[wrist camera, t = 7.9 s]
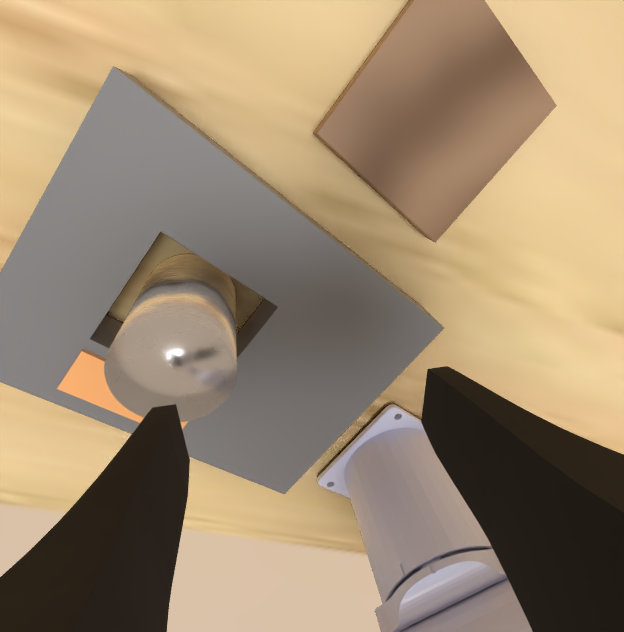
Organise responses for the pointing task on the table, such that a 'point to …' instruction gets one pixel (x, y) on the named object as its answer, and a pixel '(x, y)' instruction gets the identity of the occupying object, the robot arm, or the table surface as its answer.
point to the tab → (436, 110)
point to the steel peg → (177, 341)
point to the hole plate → (224, 253)
